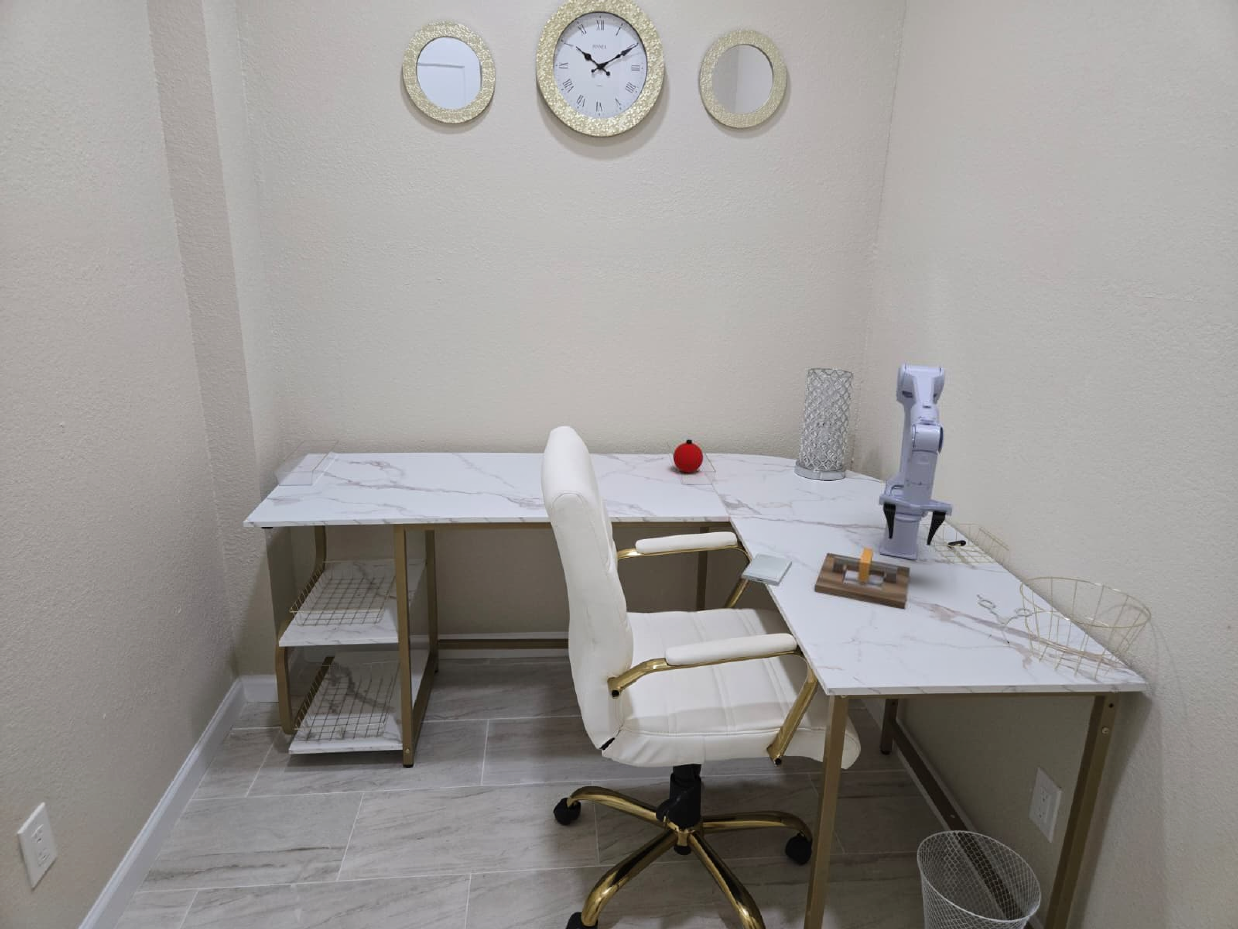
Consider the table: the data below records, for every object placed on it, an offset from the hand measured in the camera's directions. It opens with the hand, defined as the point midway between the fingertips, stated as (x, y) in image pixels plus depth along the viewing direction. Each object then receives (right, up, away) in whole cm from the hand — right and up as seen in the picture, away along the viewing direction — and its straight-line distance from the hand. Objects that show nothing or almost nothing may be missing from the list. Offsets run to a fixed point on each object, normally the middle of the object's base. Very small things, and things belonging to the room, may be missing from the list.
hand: (909, 540), depth 170 cm
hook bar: (-9, -8, +1) cm, 12 cm away
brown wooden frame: (-10, -9, +1) cm, 13 cm away
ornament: (-42, +14, +70) cm, 83 cm away
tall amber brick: (-9, -7, +1) cm, 12 cm away
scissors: (+13, -15, -13) cm, 24 cm away
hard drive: (-30, -8, +5) cm, 31 cm away
